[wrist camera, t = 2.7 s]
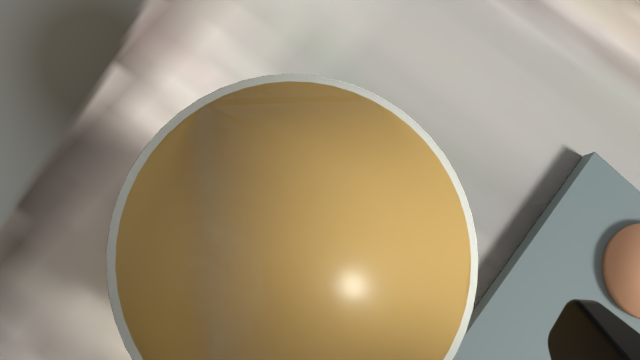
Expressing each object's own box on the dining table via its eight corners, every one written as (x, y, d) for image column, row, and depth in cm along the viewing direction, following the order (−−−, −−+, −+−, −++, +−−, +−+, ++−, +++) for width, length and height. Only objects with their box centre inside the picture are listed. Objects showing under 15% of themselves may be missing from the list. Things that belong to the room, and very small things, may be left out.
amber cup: (253, 390, 16) (327, 539, 7) (126, 281, 16) (16, 276, 7) (356, 262, 18) (542, 233, 8) (238, 159, 17) (282, 4, 8)
